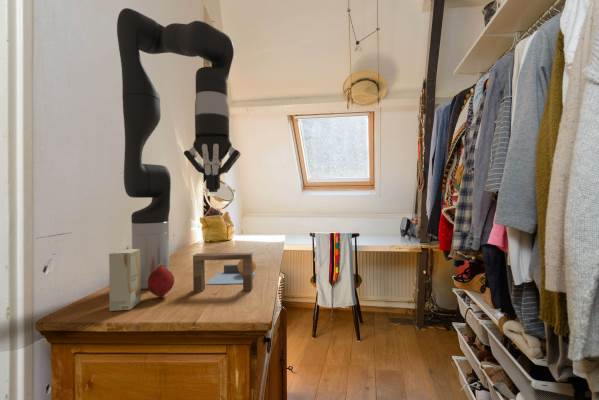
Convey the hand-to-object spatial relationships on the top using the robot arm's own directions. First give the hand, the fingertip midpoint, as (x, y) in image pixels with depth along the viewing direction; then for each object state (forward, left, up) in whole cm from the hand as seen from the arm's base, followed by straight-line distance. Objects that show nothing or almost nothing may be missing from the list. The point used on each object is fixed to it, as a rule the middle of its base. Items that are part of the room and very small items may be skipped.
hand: (213, 191), depth 69 cm
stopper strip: (-9, +25, -25) cm, 36 cm away
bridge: (-3, +8, -25) cm, 26 cm away
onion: (-14, -2, -25) cm, 29 cm away
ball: (-5, +23, -22) cm, 32 cm away
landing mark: (-7, +18, -25) cm, 32 cm away
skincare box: (-17, -8, -25) cm, 32 cm away
